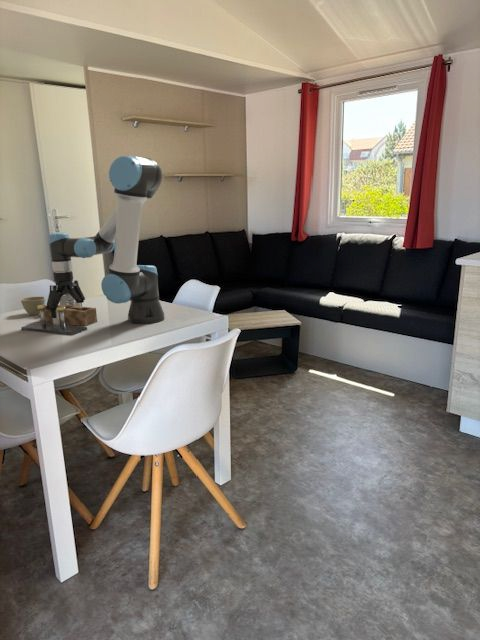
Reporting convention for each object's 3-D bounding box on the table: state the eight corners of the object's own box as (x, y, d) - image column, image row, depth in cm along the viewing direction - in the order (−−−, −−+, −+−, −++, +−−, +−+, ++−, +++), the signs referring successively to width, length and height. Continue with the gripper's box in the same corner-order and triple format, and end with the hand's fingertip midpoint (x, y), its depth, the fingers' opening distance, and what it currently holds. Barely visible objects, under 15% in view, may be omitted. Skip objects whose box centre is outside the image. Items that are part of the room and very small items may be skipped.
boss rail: (87, 329, 183) (84, 306, 181) (73, 335, 176) (70, 310, 174) (37, 324, 193) (34, 302, 191) (21, 329, 186) (18, 306, 184)
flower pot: (38, 316, 207) (35, 301, 205) (18, 316, 209) (15, 300, 207) (51, 311, 216) (49, 296, 215) (32, 311, 218) (29, 296, 217)
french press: (53, 312, 214) (46, 258, 208) (71, 307, 224) (65, 255, 218) (70, 314, 210) (64, 258, 204) (88, 308, 220) (82, 255, 214)
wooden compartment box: (97, 321, 195) (95, 307, 194) (85, 326, 189) (84, 311, 187) (53, 317, 204) (51, 304, 203) (40, 321, 198) (38, 307, 196)
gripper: (76, 266, 204) (81, 313, 209) (32, 275, 182) (39, 328, 187) (90, 267, 201) (95, 315, 206) (46, 276, 179) (53, 329, 184)
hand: (68, 321), depth 197 cm, fingers open, 13 cm apart
